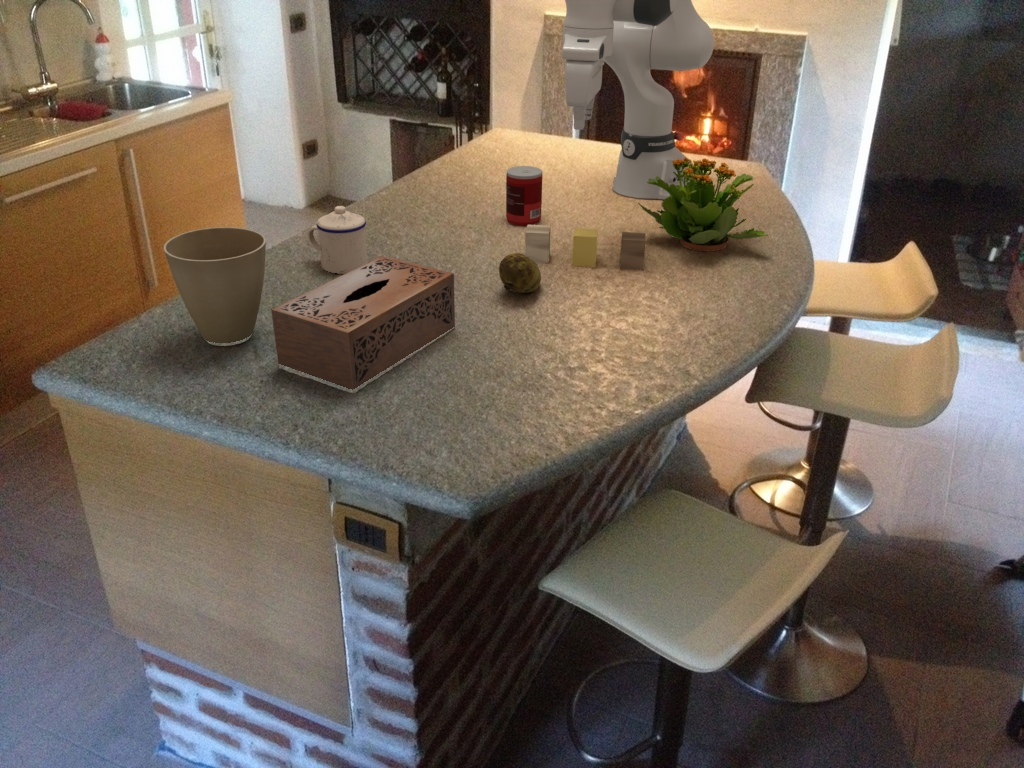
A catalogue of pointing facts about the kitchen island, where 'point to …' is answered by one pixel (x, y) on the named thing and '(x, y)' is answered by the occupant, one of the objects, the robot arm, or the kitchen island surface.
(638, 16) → the robot arm
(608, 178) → the kitchen island surface
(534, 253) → the birch block
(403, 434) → the kitchen island surface
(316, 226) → the teacup with lid
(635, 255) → the walnut block
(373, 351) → the tissue box cover
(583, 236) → the mustard block
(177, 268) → the plant pot
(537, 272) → the potato
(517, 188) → the canned food
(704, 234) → the potted flower
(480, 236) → the kitchen island surface
